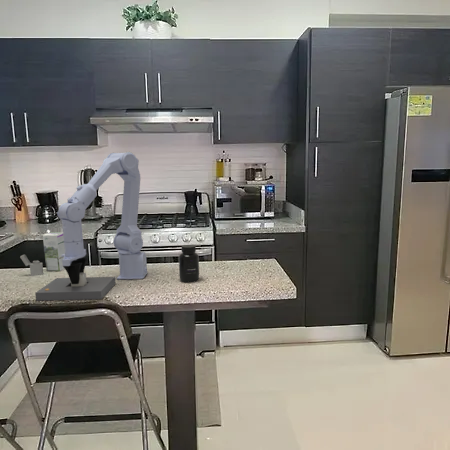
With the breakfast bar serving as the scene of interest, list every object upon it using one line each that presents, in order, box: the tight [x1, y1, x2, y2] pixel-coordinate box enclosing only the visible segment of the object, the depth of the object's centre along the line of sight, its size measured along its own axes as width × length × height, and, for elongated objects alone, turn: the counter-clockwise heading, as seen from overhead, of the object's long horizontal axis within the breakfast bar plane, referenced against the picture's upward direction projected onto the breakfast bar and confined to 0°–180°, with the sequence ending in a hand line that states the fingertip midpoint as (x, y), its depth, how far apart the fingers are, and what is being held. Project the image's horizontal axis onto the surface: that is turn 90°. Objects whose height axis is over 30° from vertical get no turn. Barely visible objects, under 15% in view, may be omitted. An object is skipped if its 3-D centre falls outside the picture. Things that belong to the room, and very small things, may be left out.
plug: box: [71, 272, 87, 287], centre depth 126 cm, size 4×3×7 cm, turn 90°
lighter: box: [19, 254, 44, 277], centre depth 147 cm, size 7×2×8 cm, turn 101°
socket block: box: [35, 276, 117, 302], centre depth 126 cm, size 20×15×3 cm
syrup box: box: [42, 231, 65, 272], centre depth 153 cm, size 6×6×14 cm
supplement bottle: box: [178, 244, 200, 283], centre depth 135 cm, size 7×7×12 cm
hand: (77, 282), depth 126 cm, fingers closed on plug, 3 cm apart
